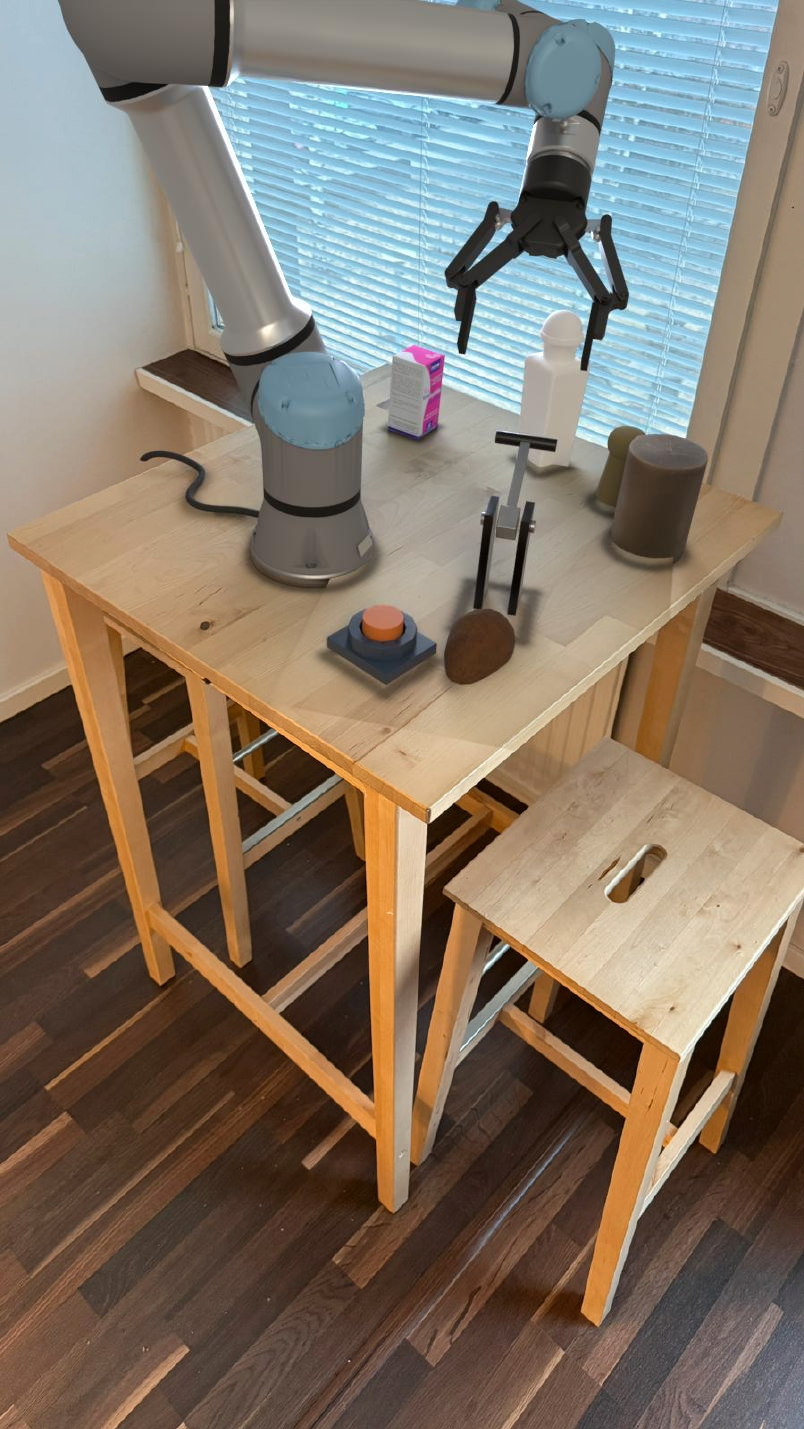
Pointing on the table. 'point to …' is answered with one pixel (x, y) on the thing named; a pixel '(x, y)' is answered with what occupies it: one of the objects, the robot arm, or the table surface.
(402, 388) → the supplement box
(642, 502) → the pillar candle
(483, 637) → the potato
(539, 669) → the table surface
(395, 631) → the button
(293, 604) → the table surface
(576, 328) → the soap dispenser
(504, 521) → the lever
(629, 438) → the olive pawn
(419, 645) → the button block
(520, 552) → the lever bracket
